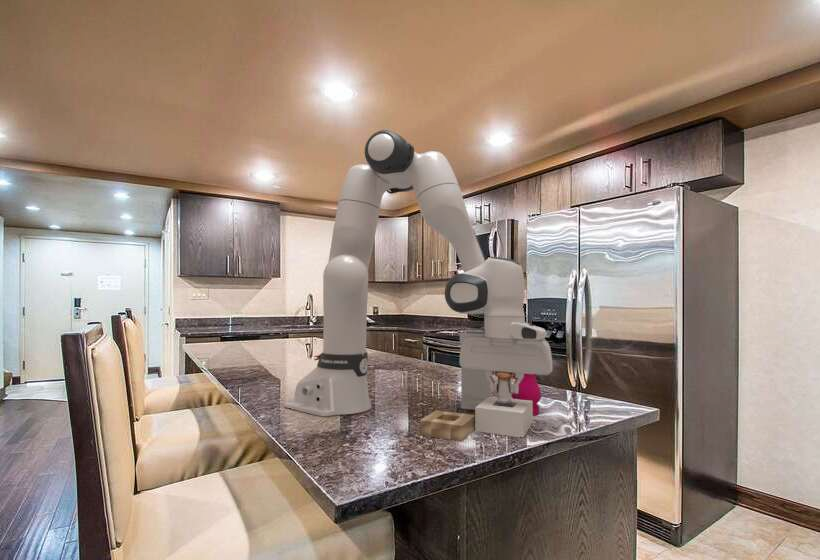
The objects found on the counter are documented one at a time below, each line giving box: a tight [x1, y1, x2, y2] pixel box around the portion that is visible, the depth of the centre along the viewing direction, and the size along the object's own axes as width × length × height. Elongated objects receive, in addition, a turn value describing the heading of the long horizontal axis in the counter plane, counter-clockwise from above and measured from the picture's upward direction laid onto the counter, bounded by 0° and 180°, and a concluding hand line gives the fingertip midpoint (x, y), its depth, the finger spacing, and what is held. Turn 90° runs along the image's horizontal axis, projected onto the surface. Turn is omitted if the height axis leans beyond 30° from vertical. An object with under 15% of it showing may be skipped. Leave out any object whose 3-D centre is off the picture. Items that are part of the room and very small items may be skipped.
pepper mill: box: [511, 374, 542, 416], centre depth 107 cm, size 7×7×20 cm
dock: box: [474, 395, 534, 439], centre depth 94 cm, size 10×12×5 cm
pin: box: [495, 371, 514, 407], centre depth 94 cm, size 4×4×10 cm
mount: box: [419, 409, 475, 442], centre depth 90 cm, size 9×9×3 cm
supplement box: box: [460, 367, 491, 411], centre depth 112 cm, size 7×7×13 cm
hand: (504, 392), depth 94 cm, fingers closed on pin, 3 cm apart
